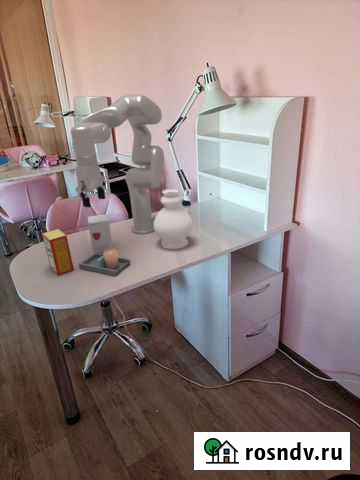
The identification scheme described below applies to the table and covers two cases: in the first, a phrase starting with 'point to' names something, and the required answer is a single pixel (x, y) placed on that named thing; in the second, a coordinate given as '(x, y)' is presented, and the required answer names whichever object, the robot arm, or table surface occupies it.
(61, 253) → the baking soda box
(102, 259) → the plate
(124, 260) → the pusher lane
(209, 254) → the table surface
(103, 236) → the supplement box
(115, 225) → the table surface
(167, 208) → the decorative vase
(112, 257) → the tan egg shape
